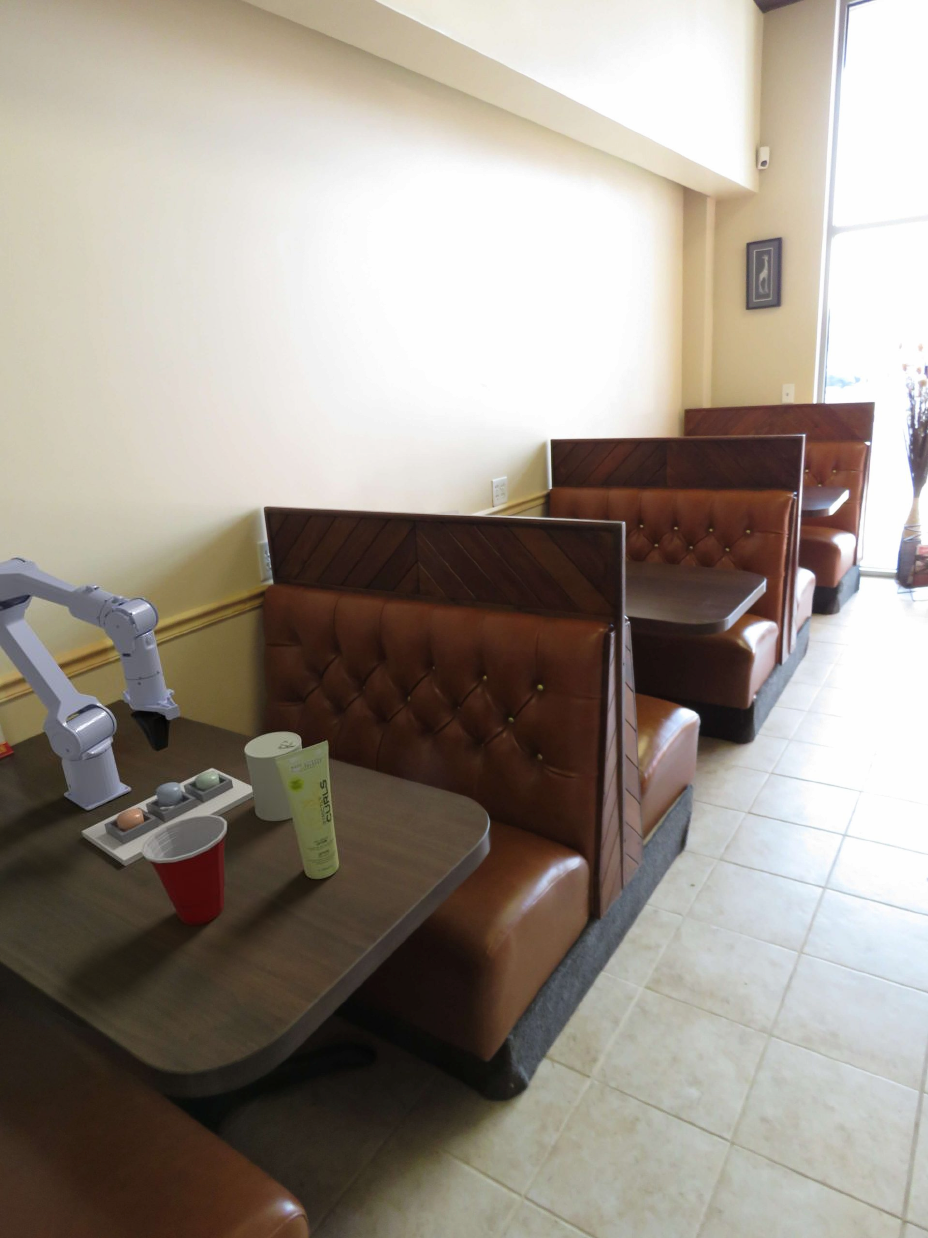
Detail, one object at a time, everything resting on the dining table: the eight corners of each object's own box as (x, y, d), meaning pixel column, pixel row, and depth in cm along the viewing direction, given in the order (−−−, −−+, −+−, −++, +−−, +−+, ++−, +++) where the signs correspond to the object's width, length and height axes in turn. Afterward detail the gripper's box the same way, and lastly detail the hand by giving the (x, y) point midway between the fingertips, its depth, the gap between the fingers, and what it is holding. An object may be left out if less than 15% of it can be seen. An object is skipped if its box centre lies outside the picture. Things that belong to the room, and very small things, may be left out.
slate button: (154, 803, 124) (151, 790, 123) (175, 792, 127) (172, 780, 126) (166, 809, 122) (163, 796, 121) (187, 799, 124) (184, 786, 124)
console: (83, 836, 121) (79, 822, 120) (212, 772, 138) (210, 760, 137) (125, 866, 112) (121, 851, 111) (258, 794, 129) (255, 780, 129)
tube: (327, 885, 104) (307, 760, 98) (295, 880, 105) (274, 757, 100) (345, 860, 109) (327, 740, 103) (314, 856, 111) (295, 737, 105)
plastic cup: (214, 875, 108) (198, 802, 105) (258, 902, 101) (243, 826, 98) (143, 918, 100) (124, 841, 97) (186, 951, 94) (167, 869, 90)
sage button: (193, 791, 129) (190, 778, 129) (212, 781, 132) (210, 769, 131) (205, 797, 127) (203, 784, 126) (224, 787, 130) (222, 775, 129)
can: (297, 822, 120) (286, 755, 116) (245, 820, 122) (232, 754, 118) (319, 792, 128) (309, 729, 125) (270, 790, 130) (259, 728, 127)
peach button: (115, 830, 119) (111, 817, 119) (137, 819, 122) (134, 806, 121) (126, 837, 117) (123, 824, 116) (149, 826, 120) (146, 813, 119)
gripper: (189, 672, 120) (205, 748, 124) (144, 658, 129) (160, 729, 133) (148, 688, 115) (166, 766, 119) (104, 671, 124) (122, 745, 128)
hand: (160, 748), depth 126 cm, fingers closed
